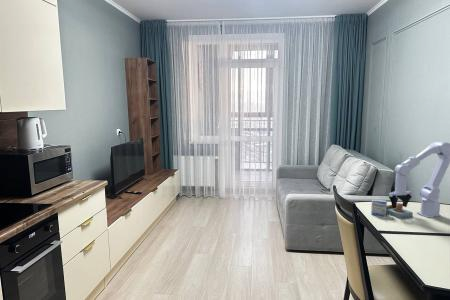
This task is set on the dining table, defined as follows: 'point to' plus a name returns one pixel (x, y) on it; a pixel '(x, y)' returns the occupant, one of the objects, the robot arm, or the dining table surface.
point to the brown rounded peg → (399, 207)
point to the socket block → (399, 213)
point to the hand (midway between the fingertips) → (399, 207)
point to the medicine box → (378, 207)
